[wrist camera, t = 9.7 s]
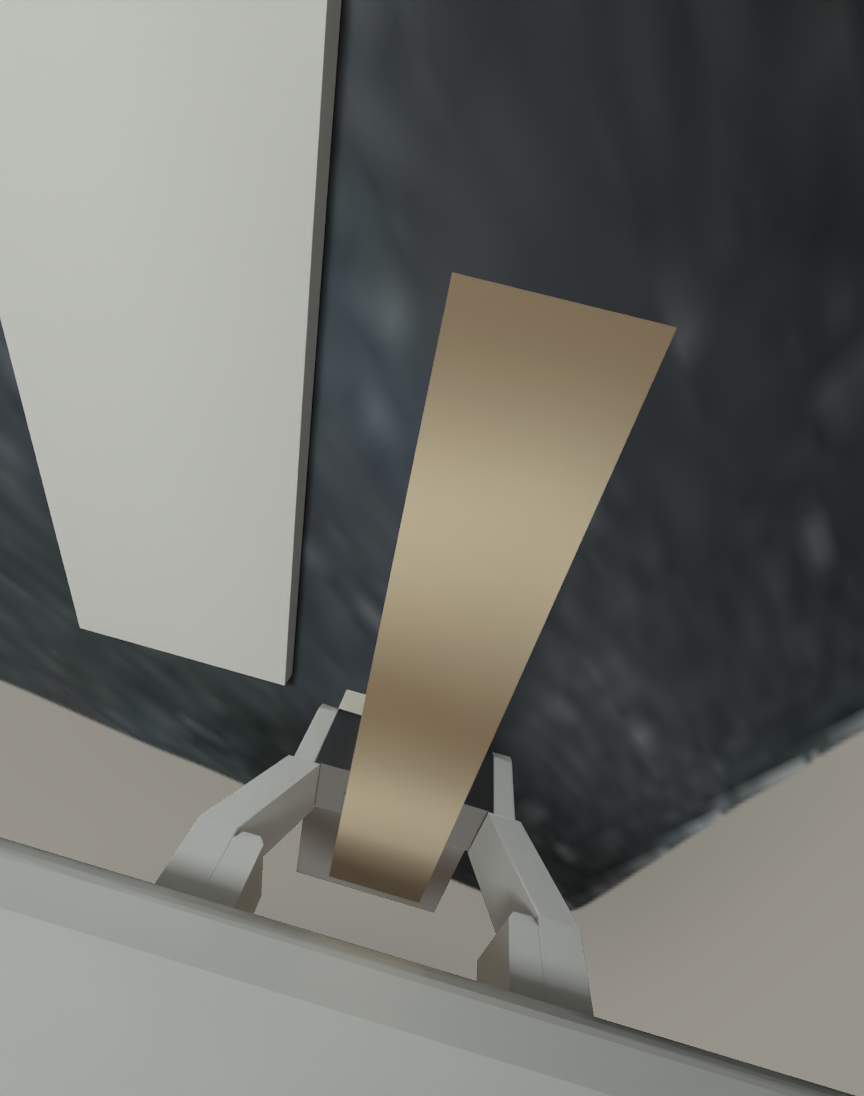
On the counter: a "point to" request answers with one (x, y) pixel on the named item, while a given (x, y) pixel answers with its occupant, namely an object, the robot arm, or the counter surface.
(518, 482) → the wooden handled scraper
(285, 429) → the board
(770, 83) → the counter surface
